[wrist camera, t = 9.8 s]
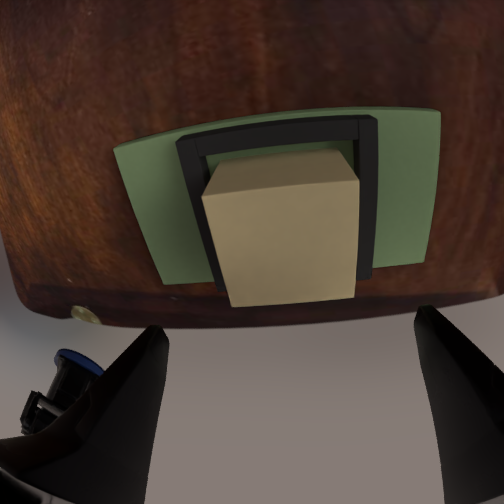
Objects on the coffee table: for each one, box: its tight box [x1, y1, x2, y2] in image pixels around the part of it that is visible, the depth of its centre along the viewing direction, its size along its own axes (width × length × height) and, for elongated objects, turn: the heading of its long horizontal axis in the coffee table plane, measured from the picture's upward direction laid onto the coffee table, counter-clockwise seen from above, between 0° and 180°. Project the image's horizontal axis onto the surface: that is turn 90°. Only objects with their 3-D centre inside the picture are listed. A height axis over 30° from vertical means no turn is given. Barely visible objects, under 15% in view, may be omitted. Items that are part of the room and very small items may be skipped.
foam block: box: [202, 148, 359, 307], centre depth 14 cm, size 6×6×4 cm
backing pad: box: [113, 107, 441, 292], centre depth 16 cm, size 18×10×2 cm, turn 99°
